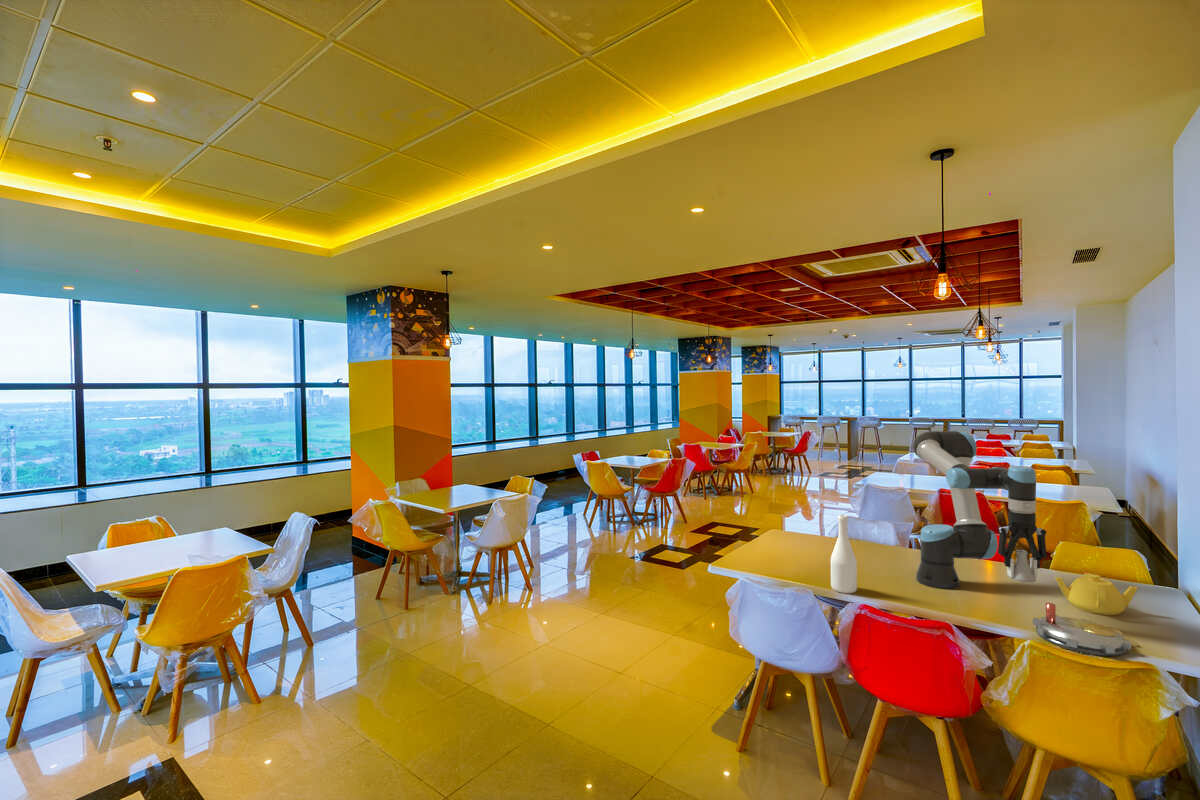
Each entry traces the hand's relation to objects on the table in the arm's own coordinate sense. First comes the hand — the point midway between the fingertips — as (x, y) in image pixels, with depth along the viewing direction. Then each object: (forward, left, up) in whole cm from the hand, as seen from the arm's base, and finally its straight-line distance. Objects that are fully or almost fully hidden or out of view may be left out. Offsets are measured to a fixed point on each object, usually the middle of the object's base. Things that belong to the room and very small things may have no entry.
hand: (1021, 576), depth 183 cm
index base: (+10, -16, -14) cm, 24 cm away
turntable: (+8, -16, -13) cm, 22 cm away
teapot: (+29, +14, -14) cm, 35 cm away
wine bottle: (-55, +15, -14) cm, 59 cm away
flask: (0, 0, -1) cm, 1 cm away
